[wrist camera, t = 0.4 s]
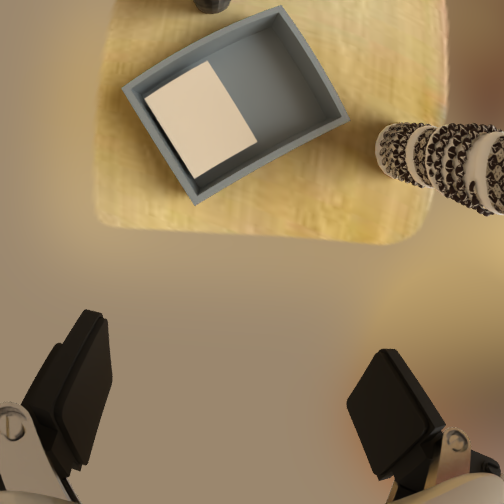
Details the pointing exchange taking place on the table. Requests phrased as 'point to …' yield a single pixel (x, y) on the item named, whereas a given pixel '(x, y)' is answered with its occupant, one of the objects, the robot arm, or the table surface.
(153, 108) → the beige rectangular block
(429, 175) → the decorative candle
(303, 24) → the table surface
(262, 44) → the tray
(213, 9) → the beverage cup
